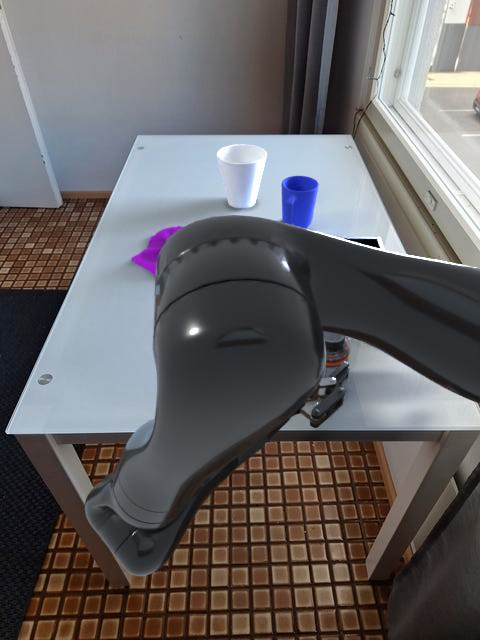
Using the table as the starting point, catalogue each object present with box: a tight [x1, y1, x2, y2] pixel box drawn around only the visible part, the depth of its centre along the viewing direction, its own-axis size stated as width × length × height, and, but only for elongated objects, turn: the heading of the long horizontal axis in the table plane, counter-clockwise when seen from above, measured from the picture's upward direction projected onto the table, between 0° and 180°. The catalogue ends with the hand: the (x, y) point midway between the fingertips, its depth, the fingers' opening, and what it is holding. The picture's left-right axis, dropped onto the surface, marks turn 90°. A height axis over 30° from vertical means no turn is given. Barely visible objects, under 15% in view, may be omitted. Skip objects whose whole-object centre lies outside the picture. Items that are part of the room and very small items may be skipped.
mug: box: [281, 175, 320, 229], centre depth 106 cm, size 8×12×10 cm
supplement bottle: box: [322, 332, 351, 399], centre depth 70 cm, size 6×6×11 cm
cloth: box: [130, 225, 183, 276], centre depth 99 cm, size 22×19×6 cm
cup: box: [216, 143, 268, 209], centre depth 115 cm, size 12×12×12 cm
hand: (320, 351), depth 66 cm, fingers open, 8 cm apart
